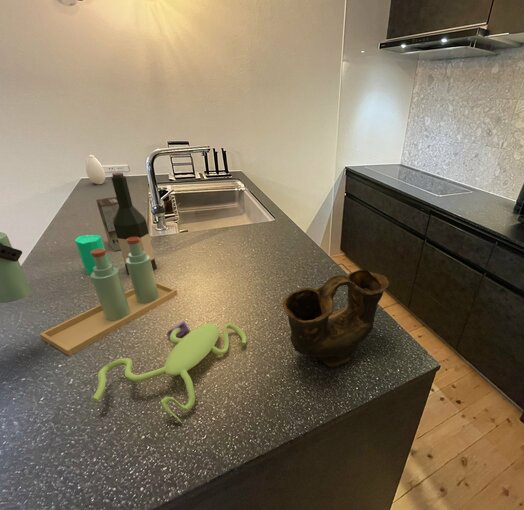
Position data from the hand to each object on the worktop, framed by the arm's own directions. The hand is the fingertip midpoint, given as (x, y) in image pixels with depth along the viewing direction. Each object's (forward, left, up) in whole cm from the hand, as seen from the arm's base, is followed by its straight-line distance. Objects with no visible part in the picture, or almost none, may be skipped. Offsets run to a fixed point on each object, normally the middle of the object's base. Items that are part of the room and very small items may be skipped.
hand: (6, 253), depth 56 cm
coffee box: (+31, +40, -22) cm, 56 cm away
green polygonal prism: (+19, +27, -22) cm, 40 cm away
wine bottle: (+27, +17, -22) cm, 39 cm away
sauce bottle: (+57, +127, -22) cm, 141 cm away
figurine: (+13, -28, -22) cm, 38 cm away
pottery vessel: (+38, -49, -22) cm, 66 cm away
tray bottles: (+17, 0, -22) cm, 28 cm away
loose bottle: (-2, -1, -8) cm, 8 cm away
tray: (+13, 0, -22) cm, 26 cm away
